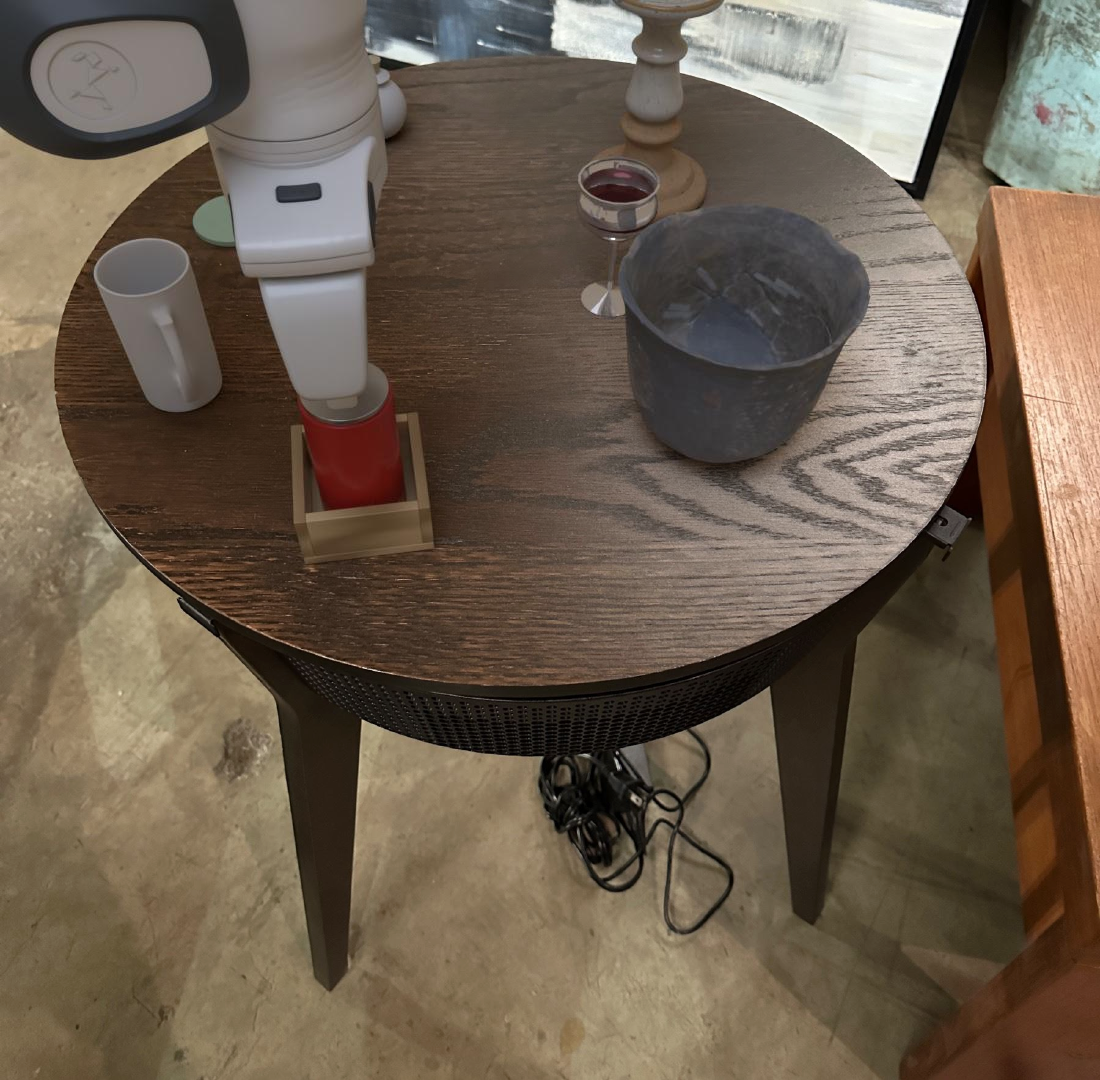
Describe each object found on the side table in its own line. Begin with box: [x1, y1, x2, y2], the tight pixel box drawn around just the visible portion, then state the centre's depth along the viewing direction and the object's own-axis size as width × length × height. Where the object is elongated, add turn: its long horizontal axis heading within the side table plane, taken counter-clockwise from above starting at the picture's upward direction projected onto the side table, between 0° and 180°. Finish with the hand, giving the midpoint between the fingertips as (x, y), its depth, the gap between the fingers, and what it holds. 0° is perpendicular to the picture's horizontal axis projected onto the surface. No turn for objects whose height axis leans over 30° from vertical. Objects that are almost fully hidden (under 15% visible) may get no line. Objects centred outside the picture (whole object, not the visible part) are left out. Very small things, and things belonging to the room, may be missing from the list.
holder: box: [290, 411, 435, 565], centre depth 75 cm, size 9×9×5 cm
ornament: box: [368, 54, 408, 140], centre depth 103 cm, size 6×7×10 cm
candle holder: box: [588, 0, 725, 225], centre depth 95 cm, size 12×12×20 cm
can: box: [297, 361, 407, 511], centre depth 72 cm, size 6×6×12 cm
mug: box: [93, 237, 223, 413], centre depth 79 cm, size 10×7×12 cm, turn 28°
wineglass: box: [575, 157, 660, 318], centre depth 88 cm, size 7×7×12 cm
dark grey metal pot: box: [617, 203, 871, 464], centre depth 77 cm, size 18×18×15 cm
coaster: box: [192, 194, 236, 248], centre depth 98 cm, size 8×8×1 cm
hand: (339, 347), depth 64 cm, fingers open, 8 cm apart
